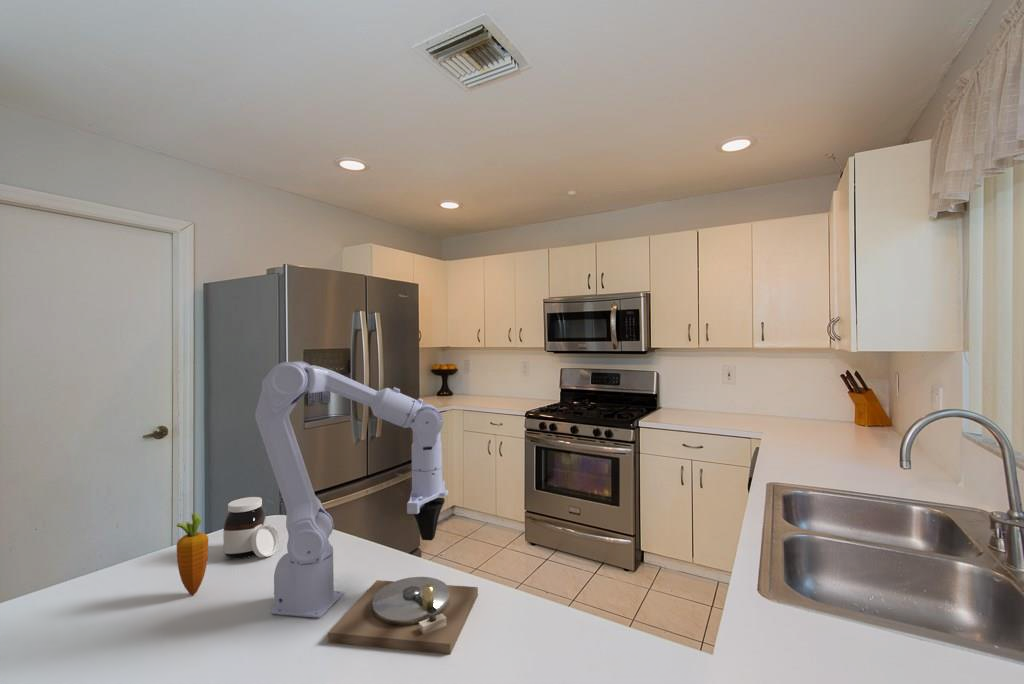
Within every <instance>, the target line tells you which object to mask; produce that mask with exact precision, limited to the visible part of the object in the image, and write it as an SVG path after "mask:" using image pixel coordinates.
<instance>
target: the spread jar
mask: <svg viewBox="0 0 1024 684" xmlns="http://www.w3.org/2000/svg"><path fill="white" fill-rule="evenodd" d="M227 511H228V512H227V515H226V516H225V519H224V521H223V522H224V523H223V535H222V536H223V537H222V538H223V539H222V540H223V553H224V555H225V556H226V557H227V558H229V559H232V558H242V559H244V558H243V557H247V558H249V557H248V556H251V557H253V556H252V555H254V556H257V557H258V558H261V559H262V558H264V557H265V558H267V557H270V556H273V555H274V554H275V553H276V552H277V551H278V549H279V546H280V535H279V531H278V530H277V528H276V527H275V526H273V525H271V524H267V519H266V518H267V516H266V510H265V508H264V507H263V499H262V497H259V496H247V497H242V498H241V497H240V498H239V499H235V500H232V501H230V502H228V503H227ZM255 554H256V555H255ZM268 554H269V555H268Z"/></svg>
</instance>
